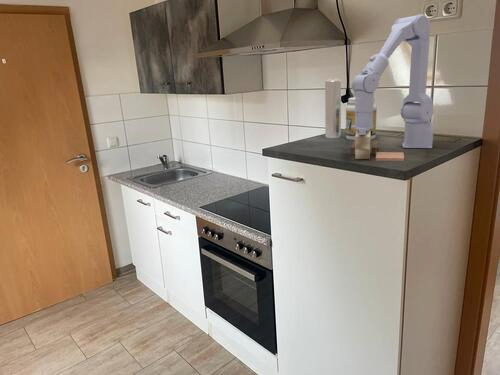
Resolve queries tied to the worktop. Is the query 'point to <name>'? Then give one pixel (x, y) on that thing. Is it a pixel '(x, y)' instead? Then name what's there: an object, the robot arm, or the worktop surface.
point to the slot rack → (374, 148)
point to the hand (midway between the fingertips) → (363, 152)
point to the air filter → (332, 108)
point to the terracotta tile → (389, 156)
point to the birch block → (362, 145)
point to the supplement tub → (351, 120)
